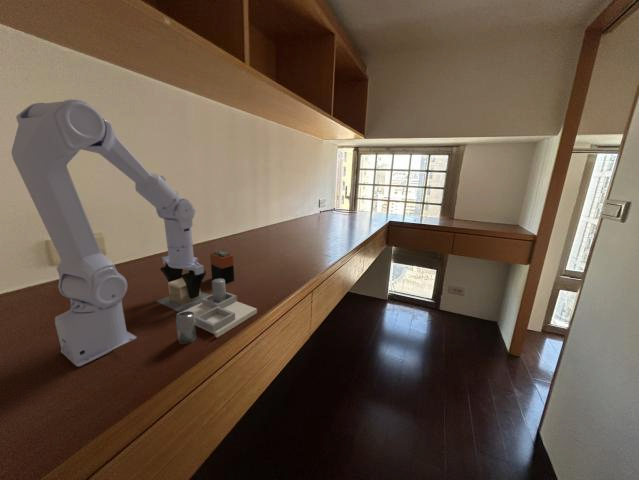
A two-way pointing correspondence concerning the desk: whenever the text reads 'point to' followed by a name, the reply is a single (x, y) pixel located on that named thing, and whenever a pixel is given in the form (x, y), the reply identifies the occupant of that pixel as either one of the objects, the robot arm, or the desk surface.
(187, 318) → the pin
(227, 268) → the battery
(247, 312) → the build board
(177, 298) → the box
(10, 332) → the desk surface
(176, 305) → the tile
